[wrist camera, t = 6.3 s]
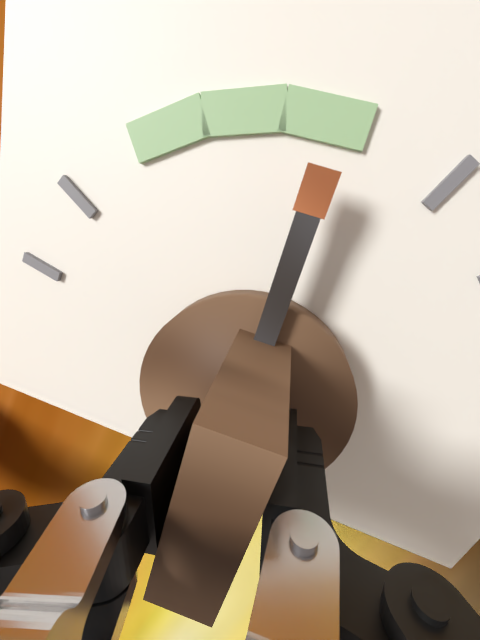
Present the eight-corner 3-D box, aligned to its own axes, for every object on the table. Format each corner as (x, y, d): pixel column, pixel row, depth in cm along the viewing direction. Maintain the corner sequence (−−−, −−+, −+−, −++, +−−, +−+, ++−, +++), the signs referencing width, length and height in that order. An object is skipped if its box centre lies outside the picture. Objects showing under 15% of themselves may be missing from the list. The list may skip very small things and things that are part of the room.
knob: (307, 491, 13) (316, 700, 8) (139, 429, 14) (28, 581, 8) (448, 213, 9) (711, 207, 3) (198, 139, 10) (53, 25, 4)
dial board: (436, 536, 15) (453, 573, 13) (18, 365, 16) (-12, 382, 15) (784, 138, 9) (895, 119, 7) (51, -99, 10) (4, -160, 8)
